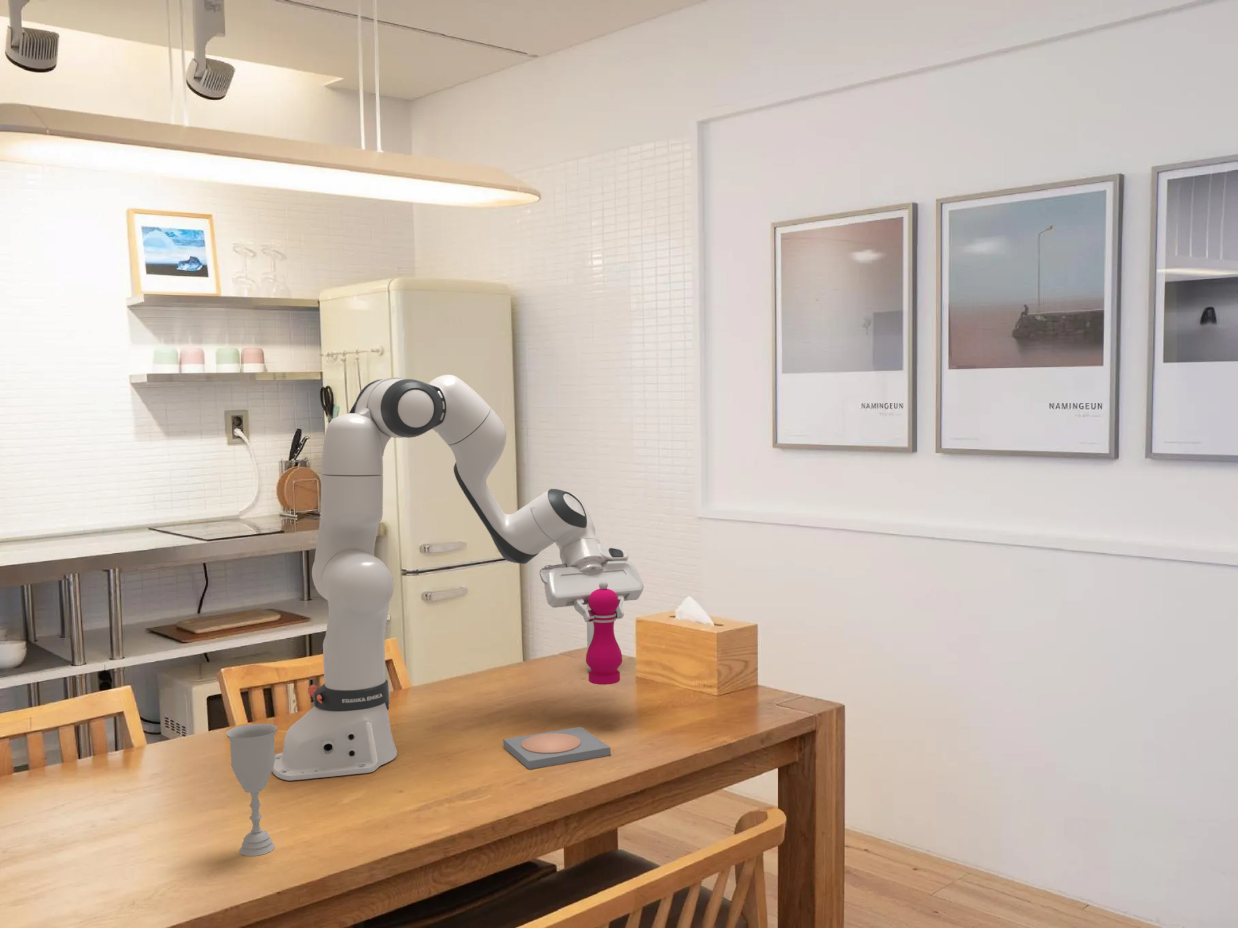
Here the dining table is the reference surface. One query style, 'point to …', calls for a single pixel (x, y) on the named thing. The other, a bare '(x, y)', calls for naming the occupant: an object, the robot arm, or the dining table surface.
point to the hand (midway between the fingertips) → (605, 618)
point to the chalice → (253, 776)
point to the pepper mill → (604, 638)
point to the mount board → (556, 747)
